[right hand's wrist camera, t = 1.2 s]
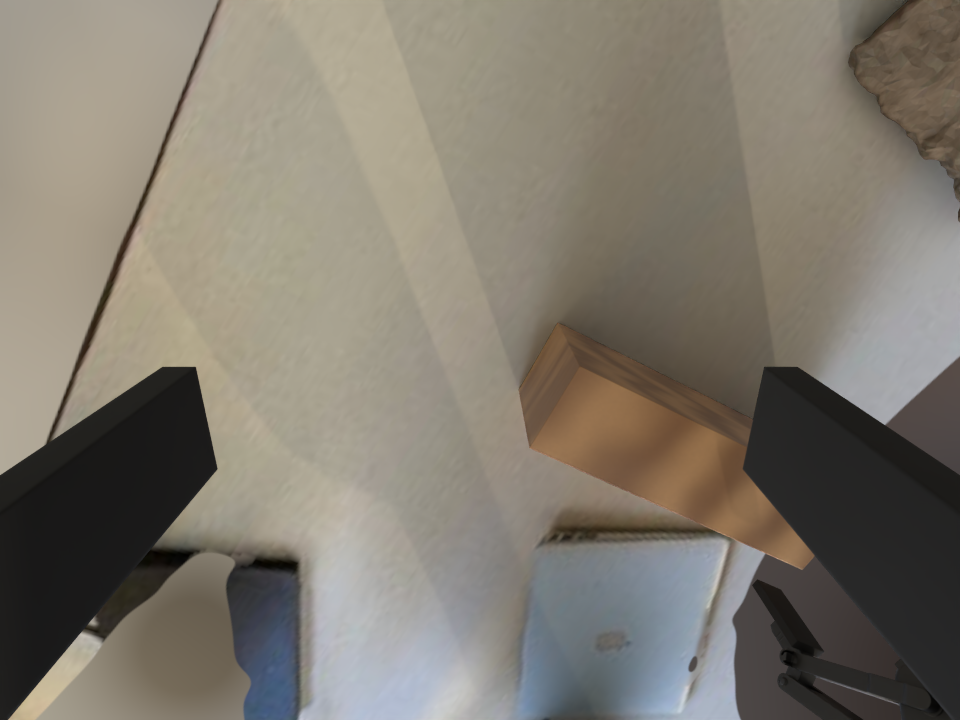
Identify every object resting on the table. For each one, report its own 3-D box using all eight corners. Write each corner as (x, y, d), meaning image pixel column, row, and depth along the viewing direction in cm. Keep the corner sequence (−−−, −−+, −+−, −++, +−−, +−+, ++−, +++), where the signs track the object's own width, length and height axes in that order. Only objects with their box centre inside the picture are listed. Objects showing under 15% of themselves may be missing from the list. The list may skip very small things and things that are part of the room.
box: (518, 389, 56) (529, 448, 45) (557, 322, 53) (579, 365, 42) (741, 493, 61) (802, 569, 50) (787, 436, 58) (862, 503, 47)
